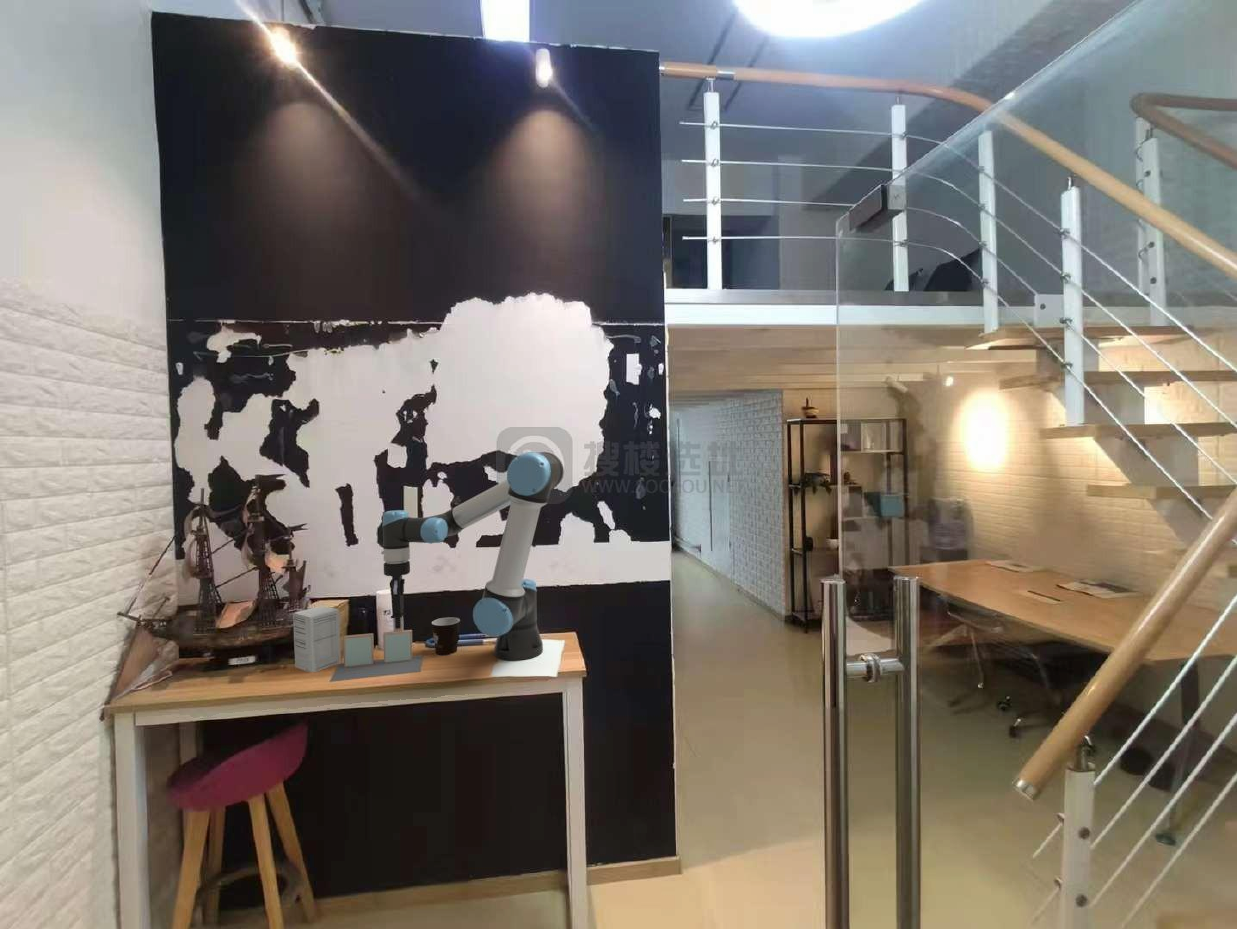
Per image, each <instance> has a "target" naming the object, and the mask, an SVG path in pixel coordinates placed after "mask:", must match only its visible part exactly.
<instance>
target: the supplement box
mask: <svg viewBox="0 0 1237 929" xmlns="http://www.w3.org/2000/svg"><path fill="white" fill-rule="evenodd" d="M292 619H293V623H292V624H293V643H294V644H293V646H294V667H295V669H299V670H301V671H305V672H307V673H310V674H313V673H316V672H319V671H323V670H325V669H328V668H331V667H334V666H338V665H339V664H342V658H341V657H342V656H341V655H342V654H341V653H342V652H341V651H342V650H341V629H340V628H341V626H340V610H339V609H338V608H334V607H330V606H326V605H319V606H314V607H311V608H308V609H303V610H299V611H296V612H293V613H292Z"/></svg>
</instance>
